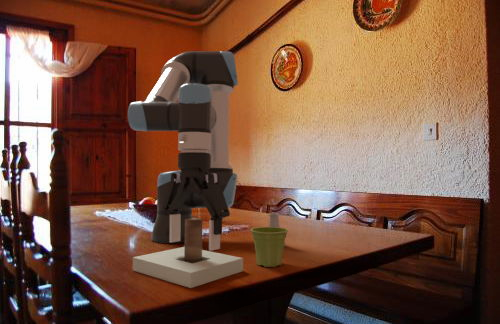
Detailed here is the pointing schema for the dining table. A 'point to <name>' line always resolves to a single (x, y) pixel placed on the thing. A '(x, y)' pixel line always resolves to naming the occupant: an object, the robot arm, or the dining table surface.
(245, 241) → the dining table surface
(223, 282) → the dining table surface
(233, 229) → the dining table surface
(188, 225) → the peg
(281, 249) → the plant pot
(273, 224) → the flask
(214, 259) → the board
